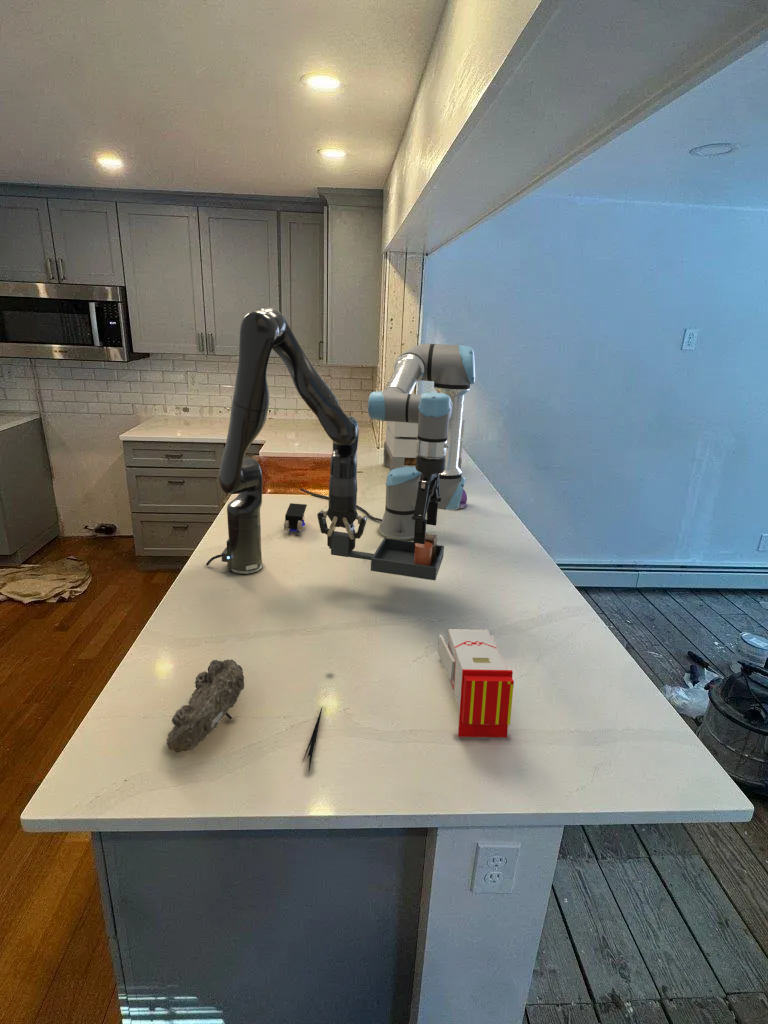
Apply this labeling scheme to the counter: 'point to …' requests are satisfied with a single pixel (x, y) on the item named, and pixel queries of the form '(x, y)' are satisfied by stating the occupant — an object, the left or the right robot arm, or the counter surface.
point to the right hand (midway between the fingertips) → (425, 533)
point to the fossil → (206, 705)
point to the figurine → (463, 499)
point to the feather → (313, 740)
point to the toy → (478, 682)
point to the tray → (390, 556)
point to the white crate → (405, 444)
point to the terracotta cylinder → (423, 554)
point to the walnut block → (433, 540)
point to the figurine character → (295, 517)
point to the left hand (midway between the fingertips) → (341, 548)
